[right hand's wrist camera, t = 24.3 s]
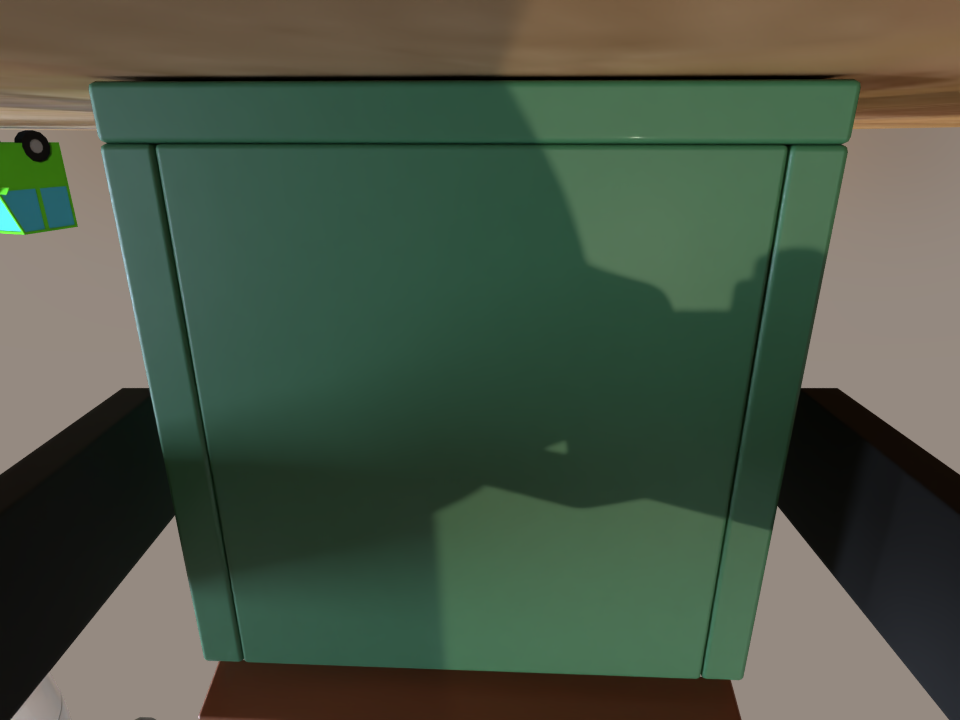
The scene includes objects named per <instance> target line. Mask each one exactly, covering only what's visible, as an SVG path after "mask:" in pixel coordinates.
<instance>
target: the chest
mask: <svg viewBox="0 0 960 720" xmlns="http://www.w3.org/2000/svg"><path fill="white" fill-rule="evenodd" d="M860 88H861V86H860V82H858V81H856V80H854V79H765V80H401V81H95V82H93V83H91V84H89V93H90V98H91V103H92V108H93V113H94V118H95V123H96V128H97V133H98V136H99V138H100V140H101V141H103V142H106V143H107V144H105V145H103V146H102V147H101V153H102V158H103V163H104V168H105V172H106V178H107V182H108V188H109V192H110V197H111V202H112V207H113V212H114V217H115V222H116V227H117V232H118V237H119V242H120V246H121V251H122V256H123V261H124V266H125V271H126V276H127V281H128V286H129V291H130V296H131V301H132V306H133V310H134V315H135V320H136V325H137V330H138V335H139V340H140V345H141V350H142V355H143V360H144V365H145V369H146V374H147V379H148V384H149V389H150V394H151V399H152V404H153V409H154V414H155V419H156V424H157V428H158V433H159V438H160V443H161V448H162V453H163V458H164V463H165V468H166V473H167V478H168V483H169V487H170V492H171V497H172V502H173V507H174V512H175V517H176V522H177V527H178V532H179V537H180V541H181V546H182V551H183V556H184V561H185V566H186V571H187V576H188V581H189V586H190V591H191V595H192V600H193V605H194V610H195V615H196V620H197V625H198V630H199V635H200V640H201V645H202V650H203V655H204V658H205V659H206V660H208V661H233V662H240V661H242V660H243V659H244V660H245V661H246V662H254V663H281V664H308V665H335V666H362V667H389V668H416V669H444V670H471V671H498V672H525V673H552V674H579V675H606V676H633V677H660V678H687V679H697V678H699V677H700V674H701V676H702V677H703V678H705V679H724V680H740V679H742V678H743V676H744V671H745V665H746V660H747V655H748V650H749V645H750V640H751V635H752V630H753V625H754V620H755V615H756V610H757V605H758V600H759V595H760V590H761V585H762V580H763V575H764V570H765V565H766V560H767V555H768V550H769V545H770V540H771V535H772V530H773V525H774V520H775V515H776V510H777V505H778V500H779V495H780V490H781V485H782V480H783V475H784V470H785V465H786V460H787V455H788V450H789V444H790V439H791V434H792V429H793V424H794V419H795V414H796V409H797V404H798V399H799V394H800V389H801V384H802V379H803V374H804V369H805V364H806V359H807V354H808V349H809V344H810V339H811V334H812V329H813V324H814V319H815V314H816V308H817V304H818V299H819V294H820V289H821V284H822V278H823V274H824V269H825V264H826V259H827V254H828V249H829V243H830V239H831V234H832V229H833V223H834V218H835V213H836V208H837V203H838V198H839V193H840V188H841V183H842V178H843V173H844V168H845V163H846V158H847V153H848V151H847V147H846V146H844V145H841V144H843V143H846V142H848V141H849V139H850V137H851V133H852V128H853V123H854V118H855V113H856V108H857V103H858V98H859V93H860Z"/></svg>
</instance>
